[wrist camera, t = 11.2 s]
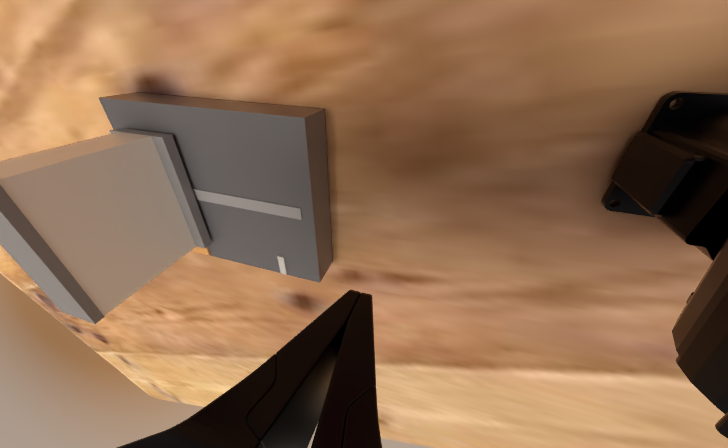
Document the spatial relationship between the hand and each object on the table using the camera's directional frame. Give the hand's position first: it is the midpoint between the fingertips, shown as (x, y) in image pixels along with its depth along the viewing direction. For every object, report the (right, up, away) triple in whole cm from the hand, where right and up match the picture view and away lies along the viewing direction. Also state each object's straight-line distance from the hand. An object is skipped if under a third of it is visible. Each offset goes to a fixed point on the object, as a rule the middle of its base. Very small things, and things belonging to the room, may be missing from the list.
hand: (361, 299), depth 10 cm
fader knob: (-16, +6, +13) cm, 22 cm away
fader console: (-11, +6, +15) cm, 19 cm away
